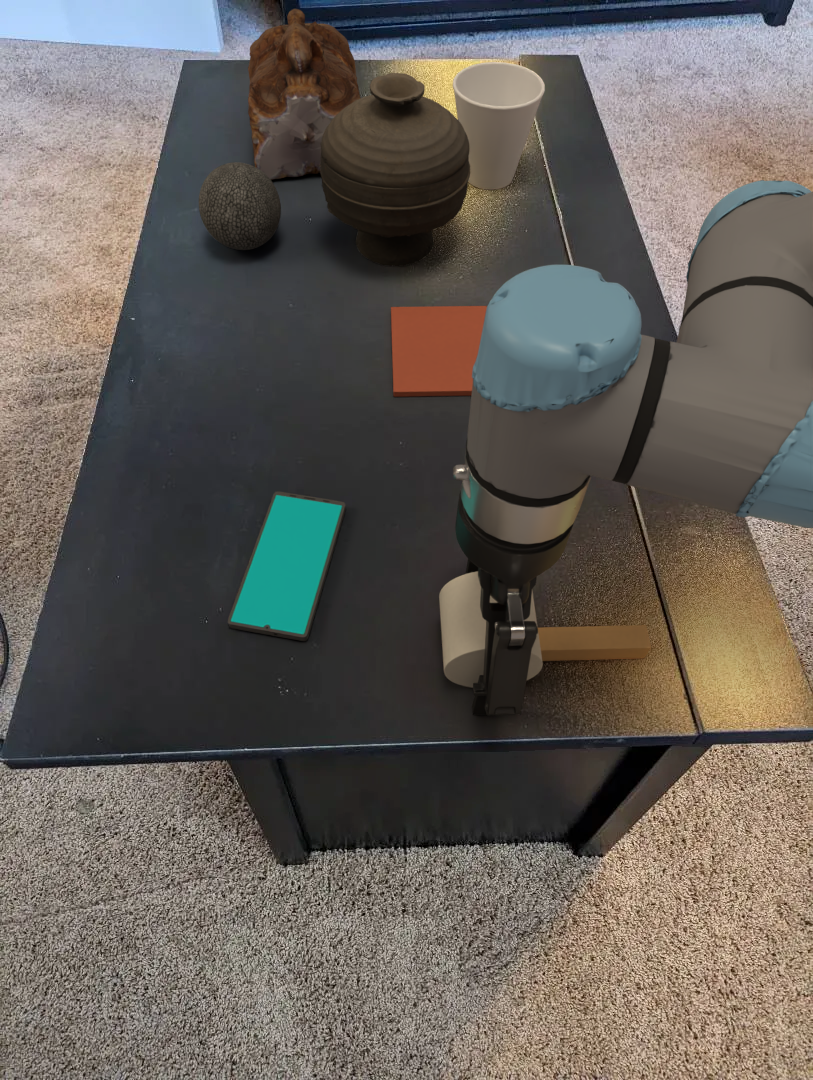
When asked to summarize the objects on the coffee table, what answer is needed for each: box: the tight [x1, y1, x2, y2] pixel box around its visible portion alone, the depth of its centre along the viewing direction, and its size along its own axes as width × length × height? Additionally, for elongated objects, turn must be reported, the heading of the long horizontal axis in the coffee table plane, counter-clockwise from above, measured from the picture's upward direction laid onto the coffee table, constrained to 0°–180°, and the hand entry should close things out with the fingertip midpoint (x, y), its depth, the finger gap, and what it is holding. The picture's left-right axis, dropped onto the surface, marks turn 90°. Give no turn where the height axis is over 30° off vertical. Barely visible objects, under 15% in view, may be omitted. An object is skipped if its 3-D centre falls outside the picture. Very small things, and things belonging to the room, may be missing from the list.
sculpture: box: [247, 8, 362, 181], centre depth 107 cm, size 19×18×20 cm
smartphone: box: [227, 490, 347, 642], centre depth 71 cm, size 7×1×15 cm
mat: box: [390, 305, 488, 398], centre depth 87 cm, size 22×14×1 cm, turn 92°
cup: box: [452, 61, 546, 191], centre depth 102 cm, size 12×12×12 cm
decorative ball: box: [198, 161, 282, 251], centre depth 94 cm, size 10×10×10 cm
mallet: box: [438, 571, 652, 689], centre depth 64 cm, size 18×7×8 cm, turn 92°
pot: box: [319, 72, 470, 267], centre depth 91 cm, size 18×18×20 cm
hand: (482, 650), depth 67 cm, fingers open, 10 cm apart
